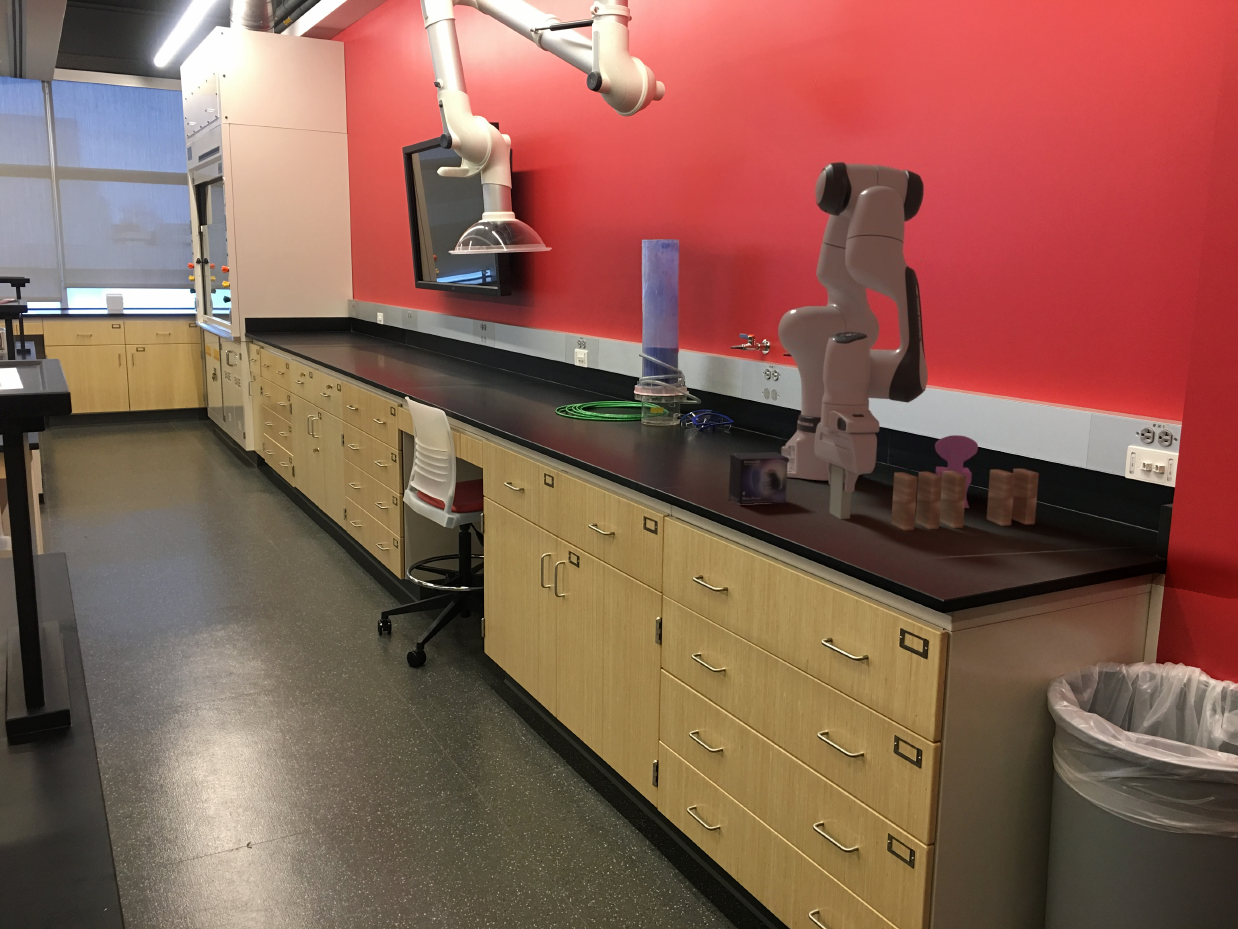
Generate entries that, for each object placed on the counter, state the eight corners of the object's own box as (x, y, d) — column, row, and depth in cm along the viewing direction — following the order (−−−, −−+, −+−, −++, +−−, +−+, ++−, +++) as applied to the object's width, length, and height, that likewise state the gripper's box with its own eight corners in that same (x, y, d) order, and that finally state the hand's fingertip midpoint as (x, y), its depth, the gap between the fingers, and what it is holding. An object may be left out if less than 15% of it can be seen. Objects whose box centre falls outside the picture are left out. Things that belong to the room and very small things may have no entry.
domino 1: (840, 520, 190) (842, 469, 188) (829, 514, 195) (831, 464, 193) (849, 519, 190) (852, 468, 189) (838, 514, 195) (841, 464, 194)
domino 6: (1025, 525, 187) (1029, 473, 186) (1009, 519, 192) (1013, 468, 190) (1034, 524, 188) (1038, 473, 186) (1018, 519, 192) (1022, 468, 191)
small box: (739, 509, 199) (741, 458, 197) (727, 502, 205) (728, 453, 203) (787, 506, 202) (789, 456, 200) (773, 500, 208) (775, 451, 206)
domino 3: (928, 529, 183) (932, 476, 181) (915, 523, 188) (918, 471, 186) (938, 529, 184) (942, 476, 182) (925, 523, 188) (928, 471, 187)
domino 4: (953, 528, 184) (956, 475, 182) (939, 522, 189) (942, 471, 187) (963, 528, 185) (966, 475, 183) (948, 522, 189) (952, 470, 188)
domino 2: (904, 530, 182) (907, 477, 180) (891, 524, 187) (894, 472, 185) (914, 530, 182) (917, 477, 181) (900, 524, 187) (904, 472, 186)
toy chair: (969, 502, 208) (974, 431, 206) (975, 510, 200) (980, 437, 197) (928, 500, 210) (933, 430, 207) (932, 508, 201) (937, 435, 199)
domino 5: (1001, 526, 186) (1005, 474, 184) (986, 520, 191) (990, 469, 189) (1010, 525, 187) (1015, 473, 185) (995, 520, 191) (999, 469, 190)
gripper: (807, 411, 199) (805, 479, 201) (852, 425, 179) (848, 499, 181) (837, 411, 200) (834, 478, 202) (884, 424, 180) (880, 498, 183)
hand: (841, 488), depth 192 cm, fingers closed on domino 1, 5 cm apart
